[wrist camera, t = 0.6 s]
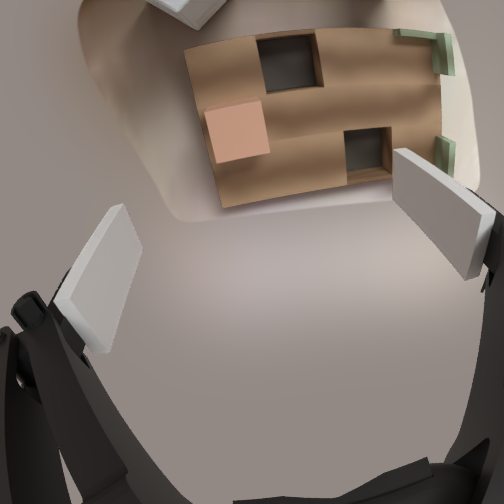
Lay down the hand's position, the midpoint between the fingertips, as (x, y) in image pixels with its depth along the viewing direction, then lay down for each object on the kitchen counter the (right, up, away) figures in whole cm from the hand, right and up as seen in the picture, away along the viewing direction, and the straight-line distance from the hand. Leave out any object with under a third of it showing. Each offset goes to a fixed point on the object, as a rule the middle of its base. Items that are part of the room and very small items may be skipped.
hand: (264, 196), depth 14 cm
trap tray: (+8, +14, +17) cm, 23 cm away
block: (-2, +10, +15) cm, 18 cm away
